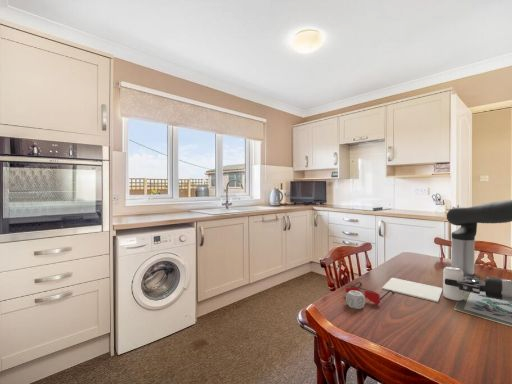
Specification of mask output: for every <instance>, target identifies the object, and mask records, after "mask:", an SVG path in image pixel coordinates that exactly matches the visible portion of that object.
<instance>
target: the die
mask: <svg viewBox="0 0 512 384" xmlns="http://www.w3.org/2000/svg"><path fill="white" fill-rule="evenodd" d="M345 302H346V304H347V305H348V307H350V309H355V310H360V309H363V308H364V307H365V305H366V297H365V294H364V293H362V291H361V292H359V291H355V290H352V291H349V292H348V293H346V296H345Z"/></svg>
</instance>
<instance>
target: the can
mask: <svg viewBox="0 0 512 384" xmlns="http://www.w3.org/2000/svg"><path fill="white" fill-rule="evenodd" d="M464 275H465V274H464V273H463V271H462V268H459V267H456V266H451V265H445V266H444V267H443V272H442V277H443V279H442V286H443V287H442V288H443V291H442V296H444V298H446V299H448V300H450V301H451V300H452V301H456V302H461V301H463V300H464V294H465V291H463V290H459V288H457V287H455V286H450V285H446V284H445V279H451V280H456V281H464ZM463 286H464V285H463Z"/></svg>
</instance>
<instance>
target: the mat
mask: <svg viewBox="0 0 512 384" xmlns="http://www.w3.org/2000/svg"><path fill="white" fill-rule="evenodd" d="M381 289H382V290H385V291H387V292H388V291H389V290H392V291H393V292H394V293H398V294H401V295H406V296H409V297H414V298H418V299H422V300H427V301H430V302H434V303H439V301H440V298H441V296H442V294H443V287H439V286H434V285H431V284H430V285H429V284H424V283H419V282H415V281H411V280H405V279H401V278H396V277H391V278H390V279H389V280H388V281H387V282H386V283H385V284H383V286H382V287H381Z"/></svg>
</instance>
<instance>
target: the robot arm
mask: <svg viewBox="0 0 512 384" xmlns="http://www.w3.org/2000/svg"><path fill="white" fill-rule="evenodd" d="M446 219H447V221H448V223H449V224H450V225H453V226H459V228H458V229H457V230H453V232H451V234H450V235H451V237H450V238H451V240H450V241H451V246H450V248H451V250H450V251H451V254H450V255H451V256H450V257H451V259H450V261H451V263H450V266H456V267H459V268H462V271H463V273H464V281H456V280H451V279H445V284H446V285H450V286H455V287H457V288H459V290H463V291H464V292H469V293H473V294H475V295H476V294H477V295H479V294H481V292H484V293H485V296H486V297H487V298H490V299H493V300H494V299H495V300H499V301H504V302H510V303H512V280H511V279H505V278H499V277H494V276H485V280H483V279H481V277H480V276H475V251H476V250H475V248H476V247H475V245H476V244H475V240H476V239H475V238H476V235H477V233H478V232H477V230H478V224H505V223H506V224H507V223H510V222H512V199H506V200H497V201H491V202H487V203H482V204H477V205H472V206H468V207H452V208H450V209H449V210H448V211H447V213H446ZM463 285H464V286H463Z"/></svg>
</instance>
